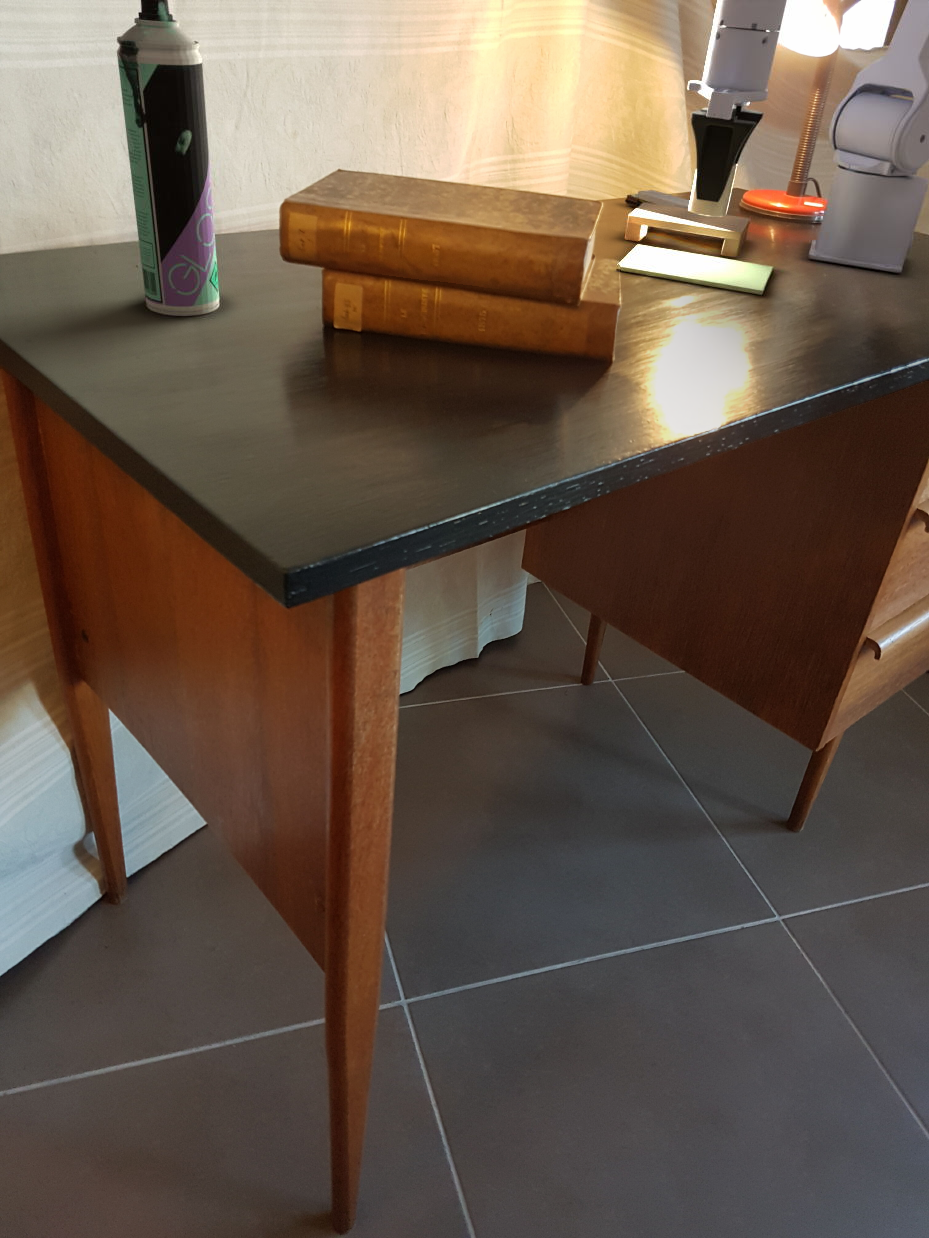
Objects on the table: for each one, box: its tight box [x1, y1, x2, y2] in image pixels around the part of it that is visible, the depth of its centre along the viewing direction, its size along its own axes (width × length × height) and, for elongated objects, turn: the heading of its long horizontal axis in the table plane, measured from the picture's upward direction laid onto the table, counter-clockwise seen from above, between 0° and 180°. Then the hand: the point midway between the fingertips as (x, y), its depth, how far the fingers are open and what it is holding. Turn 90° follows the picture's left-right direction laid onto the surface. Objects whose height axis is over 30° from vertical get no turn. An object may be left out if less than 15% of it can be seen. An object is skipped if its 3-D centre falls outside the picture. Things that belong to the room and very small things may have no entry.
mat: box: [618, 244, 774, 296], centre depth 94 cm, size 14×10×1 cm
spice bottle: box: [688, 163, 738, 216], centre depth 89 cm, size 4×4×7 cm
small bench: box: [624, 202, 751, 258], centre depth 104 cm, size 12×8×2 cm, turn 69°
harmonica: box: [624, 189, 690, 209], centre depth 113 cm, size 15×3×2 cm, turn 36°
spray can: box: [116, 0, 220, 317], centre depth 68 cm, size 6×6×20 cm
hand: (710, 196), depth 90 cm, fingers closed on spice bottle, 3 cm apart
